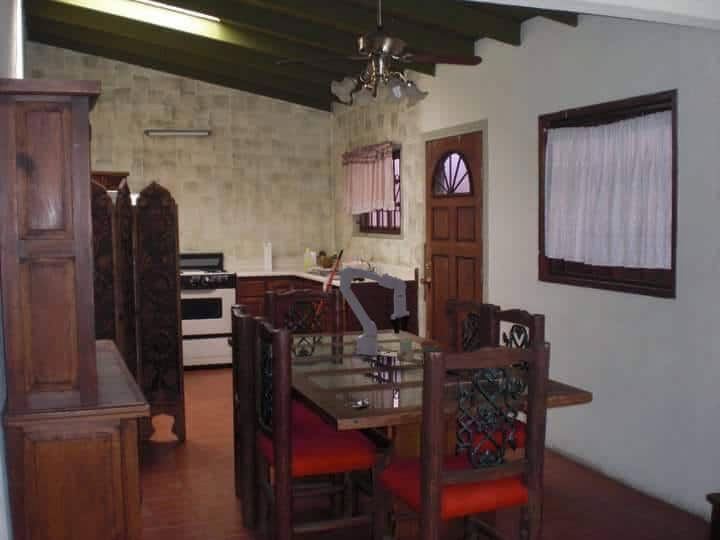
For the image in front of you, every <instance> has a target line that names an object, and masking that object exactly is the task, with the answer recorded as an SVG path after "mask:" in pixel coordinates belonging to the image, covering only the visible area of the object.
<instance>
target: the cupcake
mask: <svg viewBox="0 0 720 540" xmlns="http://www.w3.org/2000/svg"><path fill="white" fill-rule="evenodd" d="M438 346H439V344H438V342H437V341H436V340H433V339H430V332H429V331H427V339H424V340H422V341H421V342H420V343H419V347H420V348H421V349H422V352H423V351H424V350H429V351H435V352H436V349H438Z"/></svg>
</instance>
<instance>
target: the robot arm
mask: <svg viewBox="0 0 720 540" xmlns="http://www.w3.org/2000/svg"><path fill="white" fill-rule="evenodd" d="M354 278H356V279H359V278H365V279H367V280H372V281H375V282H377V283H378V285H379V286H381V287H383V288H388V289H391V290H392V289H394V290H393V292H394V293H393V314H391V315H390V318H389V322H390V324H391V326H392V328H393V332H394V334H400V330H401V331H402V332H407V330H408V326H409V323H410V321H411V318H412V316H411V315H410V311H408V310H407V297H406V296H407V295H406V290H407V284H406V282H405V281H404V280H403V279H401V278H400V277H398V276H395V277H394V276H392V275H389V274H388V273H387V272H386V273H381V274H377V273H374V272H371V271H369V270H365V269H363V268H360V267H355V266H354V267H353V266H350V265H347V266H344V267H343V268H342V270H341V272H340V277H339V290H340V292H341V294H342V295H343V297H344V299H345V300H346V302H347V303H348V306H350V309H351V310H352V311H353V313H354V314H355V317H357V319H358V321H359V322H360V325H361V326H362V328H363V333H362V334H360V335H358V337H357V340H356V346H357V347H356V348H357V349H356V350H357V351H356V355H360V354H361V355H363V356H370V357H373V356H378V355H377V354H380V353H381V352H382V351H379V349H378V346H379V345H378V344H379V343H378V334H377V332H378V328H377V325H376V323H375V322H374V321H373V320H371V319H370V317H369V315H368V314H367V313H366V311H365V310H364V308H363V306H362V304H361V303H360V302H359V299H358V298H357V297H356V295H355V293H354V292H353V291H352V289H351V286H352V285H351V284H352V282H353V280H354ZM400 328H401V329H400Z"/></svg>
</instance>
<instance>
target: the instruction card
mask: <svg viewBox="0 0 720 540" xmlns="http://www.w3.org/2000/svg"><path fill="white" fill-rule="evenodd" d="M380 352H381V353H380V354H377V355H376V356H378V355H381V356H380V357H396V358H397V352H398V351H397V352H396V351H394V352H393V351H389V352H390V353H386V352H387V351H380ZM384 353H385V354H384Z"/></svg>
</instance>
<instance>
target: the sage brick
mask: <svg viewBox="0 0 720 540" xmlns="http://www.w3.org/2000/svg"><path fill="white" fill-rule="evenodd" d="M412 342H413V341H412V340H411V339H401V340H399V351H400V352H411V351H413V346H412V345H413V343H412Z"/></svg>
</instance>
